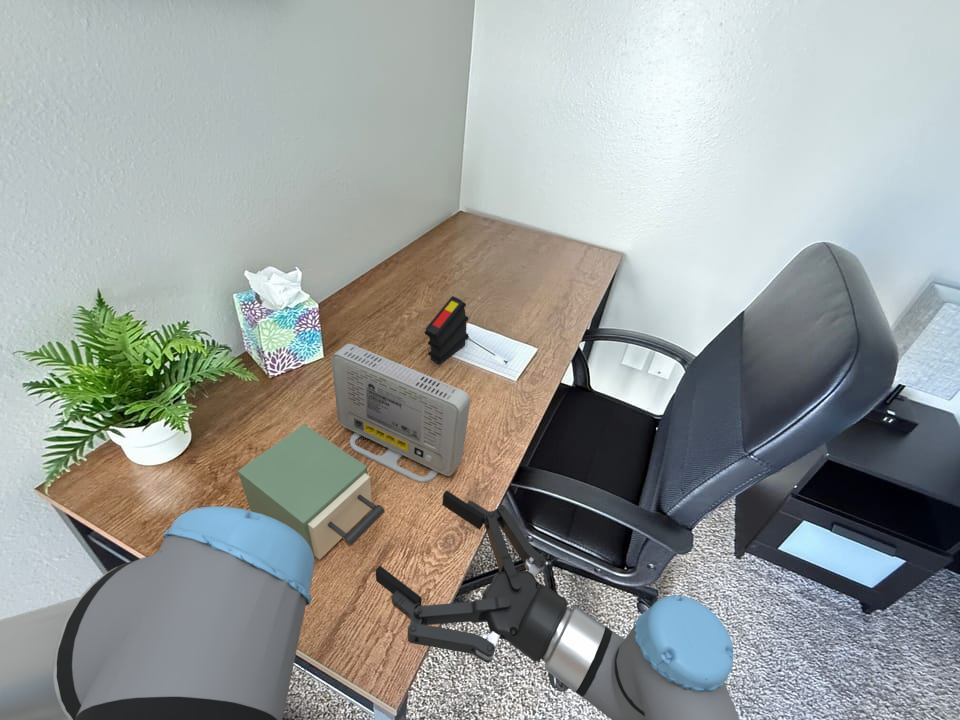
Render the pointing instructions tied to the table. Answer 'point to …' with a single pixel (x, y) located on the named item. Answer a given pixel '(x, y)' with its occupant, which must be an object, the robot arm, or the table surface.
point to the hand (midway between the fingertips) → (413, 532)
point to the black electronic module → (447, 330)
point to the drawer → (344, 517)
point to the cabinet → (298, 478)
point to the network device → (400, 412)
